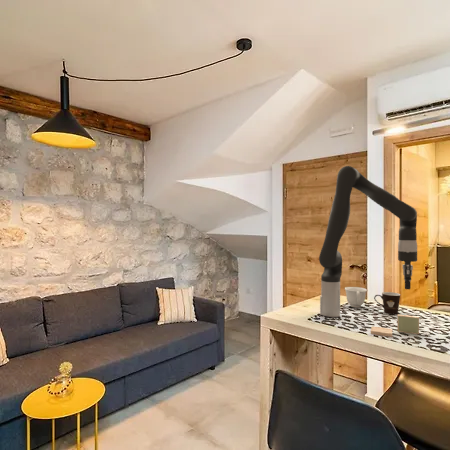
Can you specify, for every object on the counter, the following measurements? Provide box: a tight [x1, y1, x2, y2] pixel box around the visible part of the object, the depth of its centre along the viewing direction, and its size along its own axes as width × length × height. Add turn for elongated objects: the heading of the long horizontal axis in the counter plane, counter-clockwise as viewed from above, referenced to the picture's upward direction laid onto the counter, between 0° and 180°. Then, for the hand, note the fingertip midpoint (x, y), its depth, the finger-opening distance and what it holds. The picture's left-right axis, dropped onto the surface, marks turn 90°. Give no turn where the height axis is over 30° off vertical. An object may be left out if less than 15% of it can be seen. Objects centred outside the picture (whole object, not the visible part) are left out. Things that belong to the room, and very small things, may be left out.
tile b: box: [396, 313, 420, 335], centre depth 138 cm, size 8×2×7 cm, turn 63°
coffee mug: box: [373, 291, 401, 315], centre depth 170 cm, size 12×9×10 cm
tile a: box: [370, 326, 393, 338], centre depth 137 cm, size 8×2×7 cm
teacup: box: [344, 286, 368, 309], centre depth 180 cm, size 12×15×10 cm
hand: (407, 289), depth 144 cm, fingers closed
